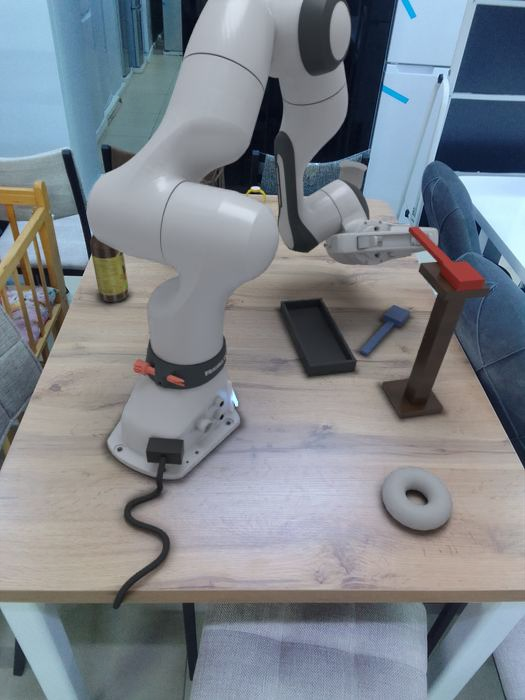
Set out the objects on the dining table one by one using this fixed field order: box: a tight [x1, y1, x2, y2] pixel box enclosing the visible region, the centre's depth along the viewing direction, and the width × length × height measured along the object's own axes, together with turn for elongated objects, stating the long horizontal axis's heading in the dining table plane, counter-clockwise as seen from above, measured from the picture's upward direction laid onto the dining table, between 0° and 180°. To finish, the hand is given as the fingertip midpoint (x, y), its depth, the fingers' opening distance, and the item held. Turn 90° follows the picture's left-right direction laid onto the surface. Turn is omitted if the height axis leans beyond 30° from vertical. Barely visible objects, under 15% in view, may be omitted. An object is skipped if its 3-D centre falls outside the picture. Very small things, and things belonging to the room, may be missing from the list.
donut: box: [381, 466, 453, 531], centre depth 73 cm, size 10×3×10 cm
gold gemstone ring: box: [245, 185, 267, 204], centre depth 147 cm, size 6×3×6 cm, turn 85°
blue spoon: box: [359, 304, 411, 357], centre depth 105 cm, size 18×4×2 cm, turn 144°
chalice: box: [338, 160, 368, 190], centre depth 135 cm, size 7×7×18 cm
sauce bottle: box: [89, 234, 129, 303], centre depth 104 cm, size 6×6×20 cm
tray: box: [279, 297, 358, 377], centre depth 102 cm, size 21×9×2 cm, turn 13°
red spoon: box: [408, 226, 486, 291], centre depth 77 cm, size 18×4×2 cm, turn 13°
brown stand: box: [381, 259, 491, 419], centre depth 83 cm, size 8×8×26 cm
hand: (403, 239), depth 87 cm, fingers open, 8 cm apart
